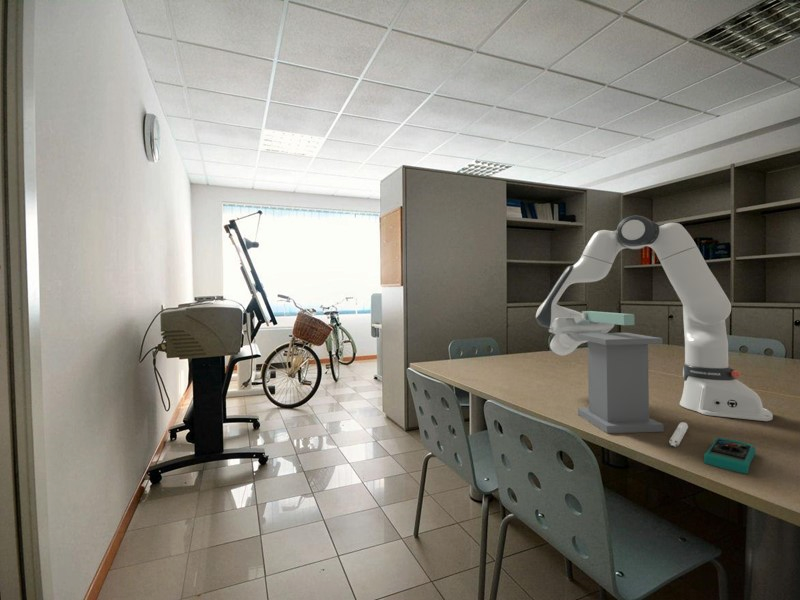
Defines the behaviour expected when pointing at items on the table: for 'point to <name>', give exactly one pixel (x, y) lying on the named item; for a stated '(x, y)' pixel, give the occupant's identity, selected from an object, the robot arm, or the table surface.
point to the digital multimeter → (730, 455)
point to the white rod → (678, 434)
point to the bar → (610, 317)
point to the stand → (619, 382)
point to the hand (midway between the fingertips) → (592, 314)
